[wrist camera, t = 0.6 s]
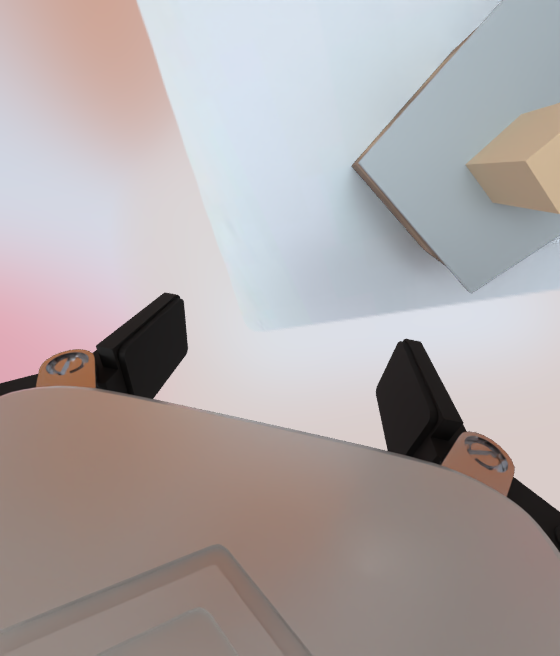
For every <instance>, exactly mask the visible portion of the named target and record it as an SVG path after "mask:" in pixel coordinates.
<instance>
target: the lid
mask: <svg viewBox="0 0 560 656" xmlns="http://www.w3.org/2000/svg"><path fill="white" fill-rule="evenodd" d="M358 163H359V165H360V166H361V167H362V168H363V169H364V170H365V172H366V173H367V174H368V175H369V176H370V178H371V179H372V180H373V181H374V182H375V183H376V185H377V186H378V187H379V188H380V189H381V190H382V192H383V193H384V194H385V195H386V196H387V197H388V199H389V200H390V201H391V202H392V203H393V204H394V206H395V207H396V208H397V209H398V210H399V211H400V213H401V214H402V215H403V216H404V217H405V218H406V220H407V221H408V222H409V223H410V224H411V226H412V227H413V228H414V229H415V230H416V231H417V233H418V234H419V235H420V236H421V237H422V238H423V240H424V241H425V242H426V243H427V244H428V245H429V247H430V248H431V249H432V250H433V251H434V252H435V254H436V255H437V256H438V257H439V258H440V259H441V261H442V262H443V263H444V264H445V265H446V266H447V268H448V269H449V270H450V271H451V272H452V273H453V275H454V276H455V277H456V278H457V279H458V281H459V282H460V283H461V284H462V285H463V286H464V288H465V289H466V290H467V291H469V292H470V293H471V294H472V293H473V292H475V291H476V290H478V289H479V288H481V287H482V286H484V285H485V284H487V283H488V282H490V281H491V280H493V279H494V278H496V277H497V276H499V275H500V274H502V273H504V272H505V271H507V270H508V269H510V268H511V267H513V266H514V265H516V264H517V263H519V262H520V261H522V260H523V259H525V258H526V257H528V256H529V255H531V254H532V253H534V252H536V251H537V250H539V249H540V248H542V247H543V246H545V245H546V244H548V243H549V242H551V241H552V240H554V239H555V238H557V237H558V236H560V0H502V1H501V2H500V3H499V4H498V5H497V7H496V8H495V9H494V10H493V11H492V12H491V13H490V14H489V16H488V17H487V18H486V19H485V20H484V21H483V22H482V23H481V25H480V26H479V27H478V28H477V29H476V30H475V31H474V32H473V34H472V35H471V36H470V37H469V38H468V39H467V40H466V42H465V43H464V44H463V45H462V46H461V47H460V48H459V49H458V51H457V52H456V53H455V54H454V55H453V56H452V57H451V58H450V60H449V61H448V62H447V63H446V64H445V65H444V66H443V67H442V69H441V70H440V71H439V72H438V73H437V74H436V75H435V76H434V78H433V79H432V80H431V81H430V82H429V83H428V84H427V85H426V87H425V88H424V89H423V90H422V91H421V92H420V93H419V94H418V96H417V97H416V98H415V99H414V100H413V101H412V102H411V103H410V105H409V106H408V107H407V108H406V109H405V110H404V111H403V112H402V114H401V115H400V116H399V117H398V118H397V119H396V120H395V122H394V123H393V124H392V125H391V126H390V127H389V128H388V129H387V131H386V132H385V133H384V134H383V135H382V136H381V137H380V138H379V140H378V141H377V142H376V143H375V144H374V145H373V146H372V147H371V149H370V150H369V151H368V152H367V153H366V154H365V155H364V156H363V158H362V159H361V160H360V161H359V162H358Z"/></svg>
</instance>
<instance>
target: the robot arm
mask: <svg viewBox="0 0 560 656" xmlns="http://www.w3.org/2000/svg"><path fill="white" fill-rule="evenodd" d="M185 323H186V321H185V310H184V301H183V300H182V299H180V296H178V295H175V294H170V293H164V294H162V295H161V296H160V297H158V298H157V299H156V300H154V301H153V302H152V303H151V304H149V305H148V306H147V307H145V308H144V309H143V310H142V311H140V312H139V313H138V314H137V315H135V316H134V317H132V318H131V319H130V320H129V321H127V322H126V323H125V324H123V325H122V326H121V327H120V328H118V329H117V330H116V331H114V332H113V333H112V334H111V335H109V336H108V337H107V338H105V339H104V340H103V341H102V342H100V343H99V344H98V345H97V346H96V348H97V350H96V351H95V352H93V353H91V352H90V351H87V350H81V349H75V350H68V351H65V352H61V353H58V354H56V355H53V356H52V357H50V358H49V359H47V360H46V361H45V362H44V363H43V364H42V365H41V367H40V369H39V373H38V374H36V375H31V376H28V377H24V378H20V379H16V380H12V381H8V382H4V383H1V384H0V656H560V512H559V511H558V510H556V509H555V508H554V507H552V506H551V505H550V504H548V503H547V502H546V501H545V500H543V499H542V498H541V497H539V496H538V495H537V494H535V493H534V492H533V491H531V490H530V489H529V488H527V487H526V486H525V485H523V484H522V483H521V482H519V481H518V480H517V479H516V478H514V477H513V476H514V468H515V467H514V465H513V462H512V460H511V458H510V457H509V456H508V454H507V453H506V452H505V451H504V450H503V449H502V448H501V447H500V446H499V445H497V443H495V442H494V441H493V440H491V439H489V438H488V437H486V436H484V435H481V434H479V433H476V432H470V431H469V432H467V431H466V429H465V427H464V425H463V421H462V419H461V417H460V415H459V414H458V412H457V410H456V408H455V406H454V404H453V402H452V400H451V398H450V396H449V394H448V392H447V391H446V389H445V387H444V385H443V383H442V381H441V379H440V377H439V376H438V374H437V372H436V370H435V368H434V366H433V364H432V362H431V360H430V358H429V356H428V355H427V353H426V351H425V349H424V347H423V345H422V343H421V342H419V341H414V340H409V339H404V341H403V342H401V341H400V342H398V344H397V346H396V348H395V350H394V352H393V354H392V356H391V359H390V360H389V363H388V365H387V367H386V369H385V371H384V373H383V375H382V377H381V379H380V381H379V383H378V386H377V389H376V396H377V401H378V406H379V411H380V416H381V421H382V425H383V430H384V435H385V440H386V444H387V449H388V451H385V450H380V449H377V448H372V447H368V446H364V445H359V444H355V443H351V442H346V441H342V440H337V439H333V438H328V437H324V436H320V435H315V434H311V433H306V432H302V431H297V430H293V429H289V428H284V427H279V426H274V425H270V424H266V423H261V422H257V421H252V420H248V419H243V418H239V417H234V416H229V415H224V414H220V413H215V412H211V411H206V410H202V409H196V408H192V407H187V406H183V405H178V404H174V403H169V402H164V401H160V400H155V399H153V398H154V397H155V395H156V394H157V393H158V391H159V390H160V389H161V387H162V386H163V385H164V383H165V382H166V381H167V379H168V378H169V377H170V375H171V374H172V373H173V371H174V370H175V369H176V367H177V366H178V365H179V363H180V362H181V361H182V359H183V358H184V357H185V355H186V354H187V350H188V344H187V333H186V324H185Z"/></svg>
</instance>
